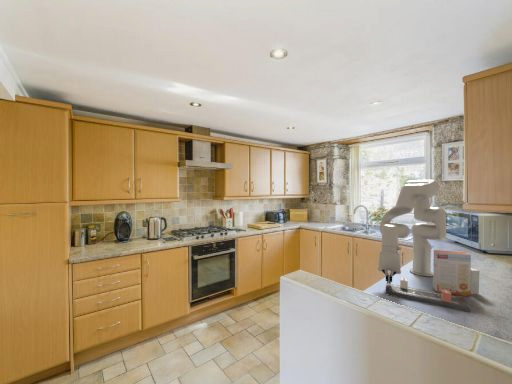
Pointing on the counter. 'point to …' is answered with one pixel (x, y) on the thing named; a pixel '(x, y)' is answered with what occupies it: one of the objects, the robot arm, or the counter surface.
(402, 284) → the block
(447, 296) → the rust fader
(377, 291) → the counter surface
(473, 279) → the skincare box
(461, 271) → the cracker box
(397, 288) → the console
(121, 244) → the counter surface
